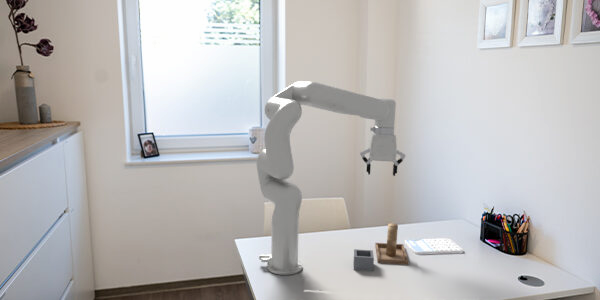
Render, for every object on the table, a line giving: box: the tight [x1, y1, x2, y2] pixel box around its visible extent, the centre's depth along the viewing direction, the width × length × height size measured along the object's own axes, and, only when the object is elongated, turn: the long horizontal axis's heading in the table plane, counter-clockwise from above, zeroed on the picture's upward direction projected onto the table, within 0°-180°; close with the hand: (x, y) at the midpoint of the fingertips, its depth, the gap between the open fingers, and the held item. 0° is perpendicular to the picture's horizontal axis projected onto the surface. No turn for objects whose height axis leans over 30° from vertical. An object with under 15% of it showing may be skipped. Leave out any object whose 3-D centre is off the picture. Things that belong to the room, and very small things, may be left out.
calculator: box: [404, 237, 464, 255], centre depth 188 cm, size 13×20×2 cm, turn 98°
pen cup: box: [353, 248, 375, 272], centre depth 166 cm, size 7×7×6 cm
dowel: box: [386, 223, 399, 257], centre depth 176 cm, size 4×4×12 cm
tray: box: [374, 242, 409, 266], centre depth 177 cm, size 16×11×2 cm
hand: (381, 174), depth 181 cm, fingers open, 9 cm apart
